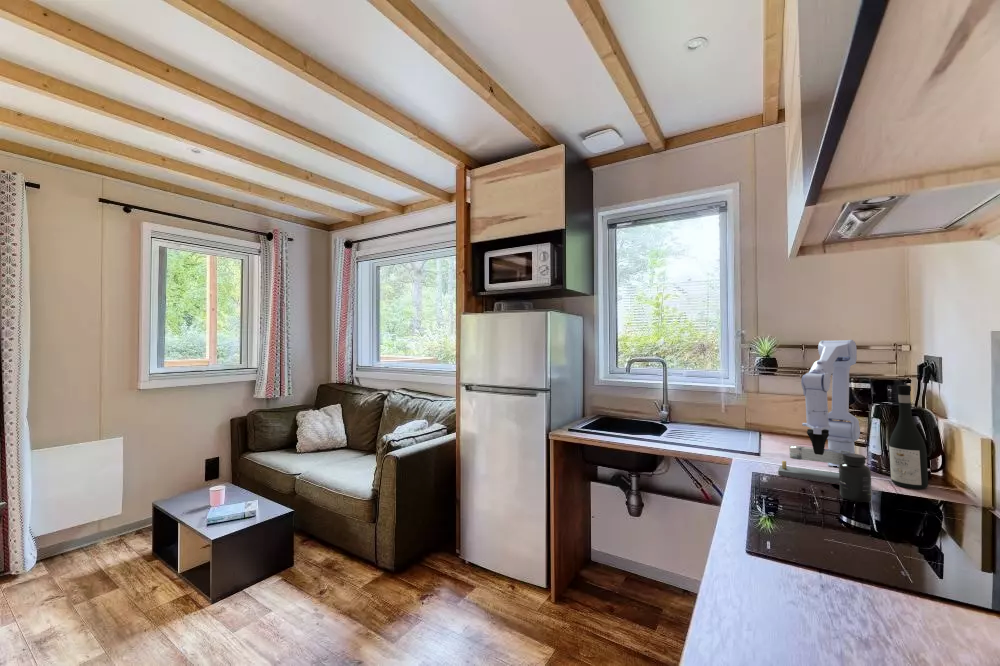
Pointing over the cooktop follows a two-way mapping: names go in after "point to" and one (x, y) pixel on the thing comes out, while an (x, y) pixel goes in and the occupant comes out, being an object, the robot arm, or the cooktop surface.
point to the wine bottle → (907, 447)
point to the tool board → (808, 474)
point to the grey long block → (809, 454)
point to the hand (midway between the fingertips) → (819, 453)
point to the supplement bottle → (855, 478)
